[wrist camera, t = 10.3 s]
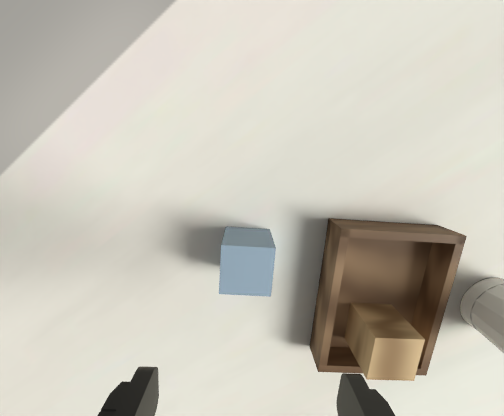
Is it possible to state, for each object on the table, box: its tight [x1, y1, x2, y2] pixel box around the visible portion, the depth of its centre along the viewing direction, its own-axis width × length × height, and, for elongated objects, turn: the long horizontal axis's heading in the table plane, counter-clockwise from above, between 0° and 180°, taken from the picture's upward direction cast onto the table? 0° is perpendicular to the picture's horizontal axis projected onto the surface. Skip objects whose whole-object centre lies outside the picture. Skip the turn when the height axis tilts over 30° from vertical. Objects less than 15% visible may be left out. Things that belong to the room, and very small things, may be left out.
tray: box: [310, 219, 466, 375], centre depth 24 cm, size 16×12×3 cm
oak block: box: [344, 303, 425, 381], centre depth 24 cm, size 4×4×5 cm
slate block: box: [219, 227, 276, 296], centre depth 22 cm, size 4×4×5 cm
